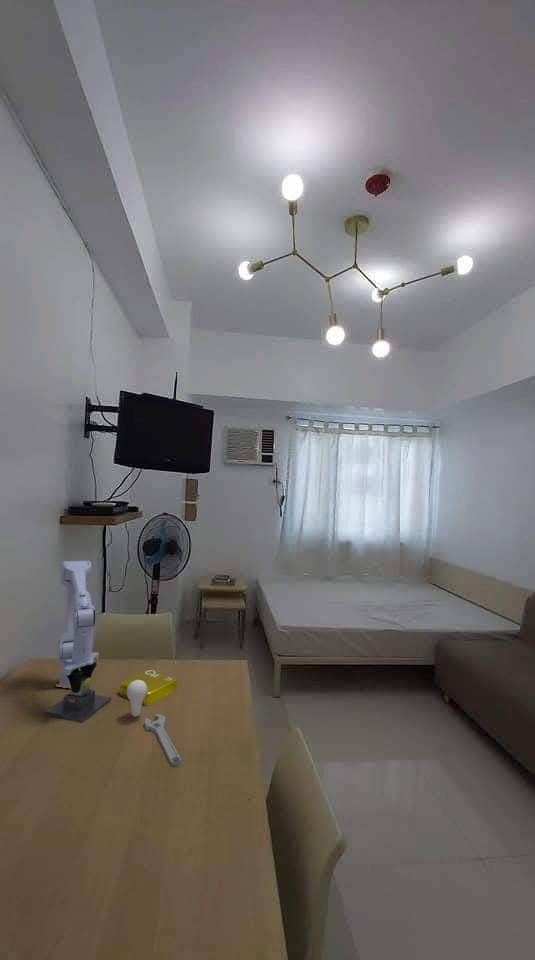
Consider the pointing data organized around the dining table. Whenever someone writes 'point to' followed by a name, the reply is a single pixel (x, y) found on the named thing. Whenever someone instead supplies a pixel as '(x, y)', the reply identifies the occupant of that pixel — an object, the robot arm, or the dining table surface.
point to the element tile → (151, 685)
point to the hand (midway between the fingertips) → (80, 688)
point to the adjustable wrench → (163, 738)
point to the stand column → (82, 687)
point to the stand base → (78, 706)
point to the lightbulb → (136, 695)
